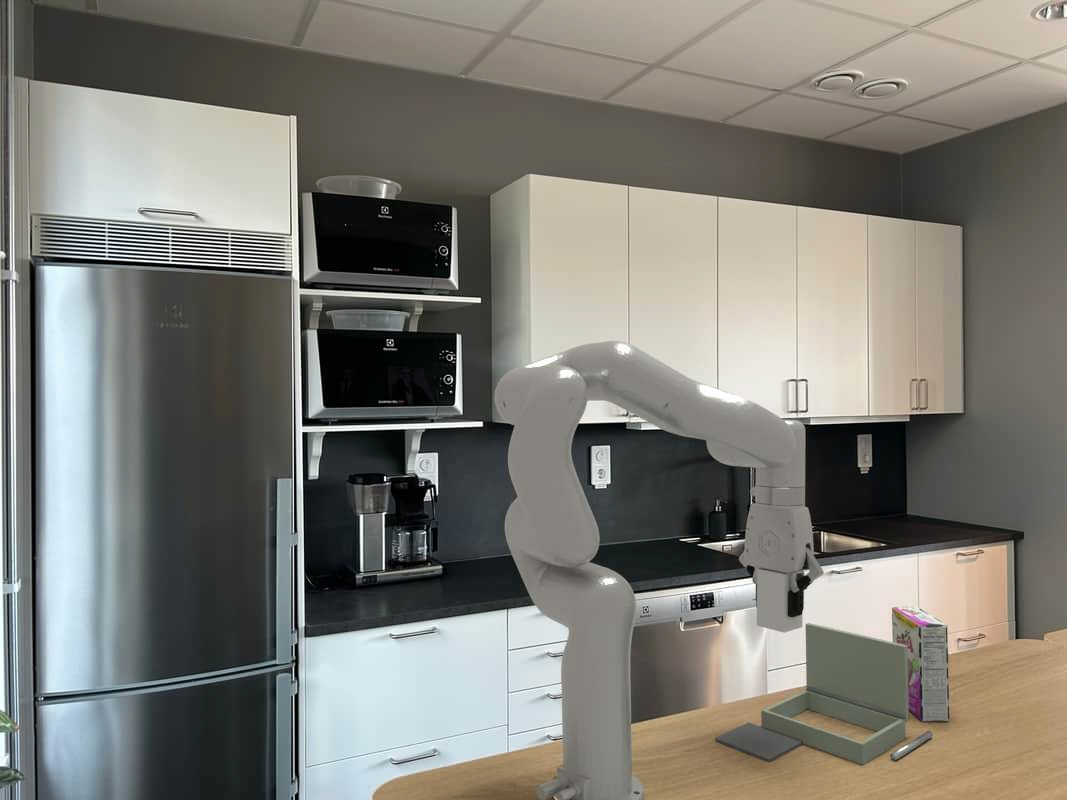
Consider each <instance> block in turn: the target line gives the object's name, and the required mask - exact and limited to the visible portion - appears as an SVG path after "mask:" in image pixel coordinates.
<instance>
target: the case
mask: <svg viewBox="0 0 1067 800" xmlns="http://www.w3.org/2000/svg"><path fill="white" fill-rule="evenodd" d="M805 670H806V671H805V674H806V675H805V677H806V678H805V679H806V687H805V690H802V691H801V692H798V693H795V694H794V695H792V696H789V697H788V698H787V697H786V698H785V699H783V700H780V701H779V702H776V703H774V704H772V705H770V706H767V707H765V708H764V709H761V710H760V713H761V715H760V719H761V720H760V721H761V725H760V727H763V728H766V729H768V730H771V731H774V732H777V733H780V734H782V735H785V736H788V737H791V738H794V739H796V740H799V741H802V742H803V744H802V745H805V746H806V745H807V746H809V747H812V748H814V749H818V750H821V751H823V752H826V753H828V754H832V755H834V756H836V757H839V758H843V759H844V760H848V761H851V762H854V763H856V764H859V765H862V766H864V765H865V764H867V763H869V762H870V761H871V760H873V759H874V758H877V757H878V756H880V755H881V754H883V753H885V752H886V751H888V750H889V749H891V748H893V747H894V746H896V745H898V744H899V743H901V742H902V741H904V740H906V723H908V722H909V720H910V715H909V714H910V713H909V712H910V710H909V702H908V646H907V645H903V644H898V643H894V642H893V641H890V640H885V639H880V638H877V637H871V636H867V635H863V634H859V633H853V632H850V631H846V630H841V629H837V628H833V627H828V626H824V625H819V624H816V623H811V622H807V623H805ZM807 710H809V711H812V712H814V713H815V712H816V713H819V714H821V715H824V716H828V717H830V718H834V719H836V720H837V719H838V720H840V721H843V722H847V723H851V724H853V725H856V726H859V727H863V728H865V729H868V730H871V731H873V732H874V731H875V733H873V734H871V735H869V736H868V737H867V738H864V739H863V740H861V741H859V740H857V739H853V738H850V737H847V736H844V735H841V734H838V733H835V732H833V731H830V730H828V729H827V730H826V729H824V728H821V727H817V726H815V725H811V724H808V723H806V722H803V721H800V720H798V719H794V718H792V717H794V716H797V715H798V714H801V713H803V712H805V711H807Z"/></svg>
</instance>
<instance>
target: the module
mask: <svg viewBox="0 0 1067 800" xmlns="http://www.w3.org/2000/svg"><path fill="white" fill-rule="evenodd" d="M796 575H797V574H796ZM788 591H791V587H790V582H789V574H788V573H784V572H779V571H774V570H768V569H763V568H759V569H757V608H756V626H757V627H761V628H764V629H768V630H774V631H777V632H781V633H788V632H791V631H794V630H798V629H801V628H803V614H802V615H800V616H796V617H793V618H792V617H789V616H788Z"/></svg>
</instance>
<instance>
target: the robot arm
mask: <svg viewBox="0 0 1067 800" xmlns="http://www.w3.org/2000/svg"><path fill="white" fill-rule="evenodd" d="M493 396H494V404H495V409H496V410H497V413H498V415H500V417H501V418H502V419H503V421H505V422H507V423H509V424H510V425H512V426H514V427H513V430H512V433H511V436H510V439H509V440H510V441H509V445H508V452H507V453H508V454H507V467H508V472H509V475H510V480H511V482H512V486H513V488H514V490H515V493H516V496H517V497H516V498H515V500H513V502H511V504H510V505H509V507H508V510H507V512H506V515H505V519H504V533H505V534H504V535H505V539H506V542H507V545H508V548H509V551H510V554H511V556H512V558H513V561H514V563H515V566H516V567H517V570H518V572H519V574H520V577H521V579H522V581H523V583H524V586H525V588H526V589H527V590H526V591H527V592H528V594H529V596H530V599H531V601H532V602H533V604H534V605H535V607H536V609H537V610H538V611H539V612H540V613H541V614H542V615H544V616H545V617H547V618H548V619H550V620H551V621H554V622H556V623H558V624H560V625H562V626H564V627H565V628H567V629H568V635H567V636H568V637H567V640H566V643H565V646H564V649H563V652H562V657H561V663H560V665H561V666H560V667H561V668H560V681H561V682H560V683H561V727H562V730H561V731H562V732H561V733H562V764H561V765H558V766H557V768H556V770H557V775H554V777H553V778H552V780H550V781H546V782H545V783H542V784H539V785H538V786H536V789H535V793H536V796H537V798H538V799H539V800H549V799H551V798H553V796H555V797H556V798H557V799H558V800H642V799H643V800H644V798H643V796H645V795H644V794H645V788H644V785H643V784H642V781H641V780H640V779H639V778H638V777H637V776H635V775H634V774H633V761H632V760H633V754H632V753H633V752H632V749H633V748H632V746H633V745H632V699H631V698H632V697H631V696H632V695H631V694H632V693H631V691H632V690H631V689H632V688H631V687H632V686H631V651H632V650H631V647H632V639H633V632H634V627H635V622H636V615H637V600H636V596H635V593H634V590H633V588H632V586H631V585H630V583H629V582H628V580H626V579H625V578H624V577H623V576H622V575H621V574H619V573H618V572H617V571H614V570H612V569H610V568H608V567H605V566H602V565H599V564H596V563H593V562H590V561H592V560H593V559H594V558H595V556H597V555H596V554H597V553H598V550H599V547H600V537H601V536H600V531H599V526H598V523H597V521H596V519H595V516H594V514H593V511H592V509H591V506H590V504H589V502H588V499H587V497H586V494H585V492H584V489H583V487H582V485H581V482H580V479H579V477H578V474H577V471H576V468H575V465H574V461H573V456H572V444H573V439H574V435H575V432H576V430H577V427H578V425H579V423H580V422H581V419H582V418H583V416H584V413H585V411H586V408H587V405H588V401H589V402H590V401H594V402H595V401H598V402H599V401H606V402H609V403H612V404H613V405H616V406H617V407H619V408H621V409H623V410H625V411H627V412H629V413H630V414H632V415H634V416H637V417H638V418H640V419H642V420H644V421H645V422H647V423H650V424H651V425H653V426H655V427H657V428H658V429H660V430H663V431H665V432H668V433H672V434H674V435H678V436H682V437H685V438H692V439H697V440H698V439H699V440H704V441H706V448H707V450H708V452H709V454H710V455H711V457H712V458H713V459H715V460H716V461H717V462H719V463H721V464H724V465H727V466H731V467H741V468H754V469H755V484H754V486H752V487H751V488H750V490H749V493H750V495H751V496H754V497H755V498H754V500H755V503H751V504H750V507H749V511H748V515H747V520H746V528H745V537H744V550H743V551H742V553H741V554H740V556H739V557H738V560H739V561H738V562H740V564H741V565H742V566H743V567H744V568H745V569H746V571H747V573H748V574H749V575H750V577H751V578H752V579H751V581H752V583H753V584H754V585H755V602H756V603H755V606H756V607H755V608H756V609H757V569H759V568H763V569H768V570H774V571H779V572H784V573H788V574H789V582H790V587H791V591H788V616H789V617H792V618H793V617H796V616H800V615H802V616H803V611H804V608H805V605H804V604H805V600H804V599H805V591H806V590H807V589H808V588H809V586H811V585H812V583H814V582H815V580H817V579H819V578H821V577H822V576H824V574H825V573H824V572H825V571H824V570H823V568H822V566H821V565H820V563H819V562H818V561H817V559H816V557H815V554H814V553H815V552H814V551H815V550H814V536H813V535H814V533H813V526H812V521H811V513H810V510H809V507H807V506H806V427H805V425H804V424H803V422H801V421H800V420H798V419H783V418H782V417H781V416H779V415H777V414H775V413H773V412H772V411H770V410H769V409H767V408H765V407H764V406H761V405H760V404H758V403H757V402H753V401H751V400H748V399H747V398H745V397H742V396H739V395H735V394H733V393H730V392H728V391H724V390H721V389H720V388H717V387H714V386H713V385H712V386H711V385H708V384H706V383H703V382H700V381H697V380H694V379H693V378H690V377H688V376H687V375H684V374H683V373H681V372H679V371H678V370H676V369H674V368H672V367H671V366H669V365H667V364H666V363H664V362H662V361H660V360H659V359H657V358H655V357H654V356H652V355H650V354H648V353H646V352H645V351H644V350H642V349H640V348H639V347H636V346H634V345H633V344H630V343H628V342H624V341H620V340H608V341H601V342H594V343H591V342H590V343H586V344H581V345H578V346H575V347H572V348H569V349H567V350H564V351H561V352H559V353H555V354H553V355H550V356H547V357H543V358H541V359H539V360H536V361H533V362H530V363H527V364H524V365H521V366H519V367H515V368H513V369H510V370H509V371H507V372H506V373H505V374H504V375H503V376H502V377H501V378H500V380H499V381H498V382H497V384H496V387H495V390H494V395H493ZM805 571H809V572H806V573H807V574H805ZM796 574H797V575H796Z"/></svg>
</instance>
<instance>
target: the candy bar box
mask: <svg viewBox="0 0 1067 800" xmlns="http://www.w3.org/2000/svg"><path fill="white" fill-rule="evenodd" d="M891 622H892V623H891V626H892V628H891V629H892V633H891V634H892V642H894V643H898V644H903V645H907V646H908V702H909V712H911V713H912V714H913V715H914V716H915V717H916V718H917V719H919V720H920V722H923V723H940V722H941V723H942V722H950V688H949V684H950V683H949V645H948V644H949V643H948V624H946V623H945V622H943V621H941V620H940V619H938V618H936V617H935V616H933V615H932V614H930V613H928V612H927V611H925V610H923V609H922V608H920V607H919V606H893V607H891Z"/></svg>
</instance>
